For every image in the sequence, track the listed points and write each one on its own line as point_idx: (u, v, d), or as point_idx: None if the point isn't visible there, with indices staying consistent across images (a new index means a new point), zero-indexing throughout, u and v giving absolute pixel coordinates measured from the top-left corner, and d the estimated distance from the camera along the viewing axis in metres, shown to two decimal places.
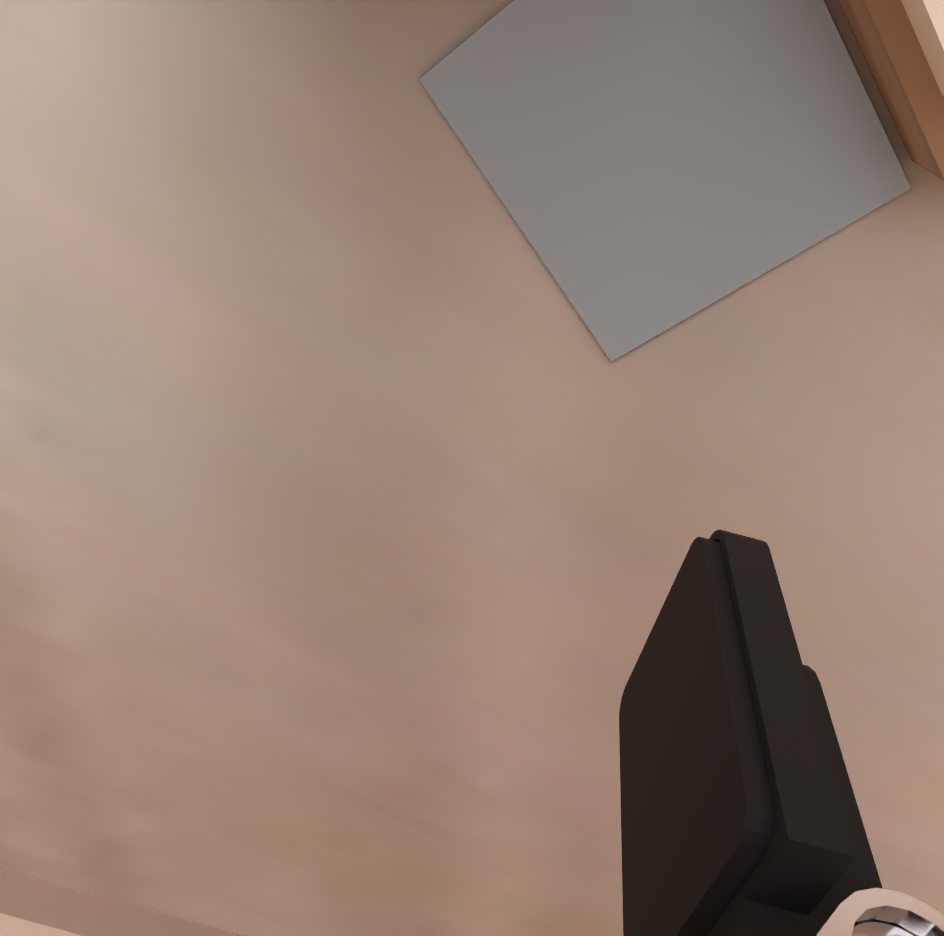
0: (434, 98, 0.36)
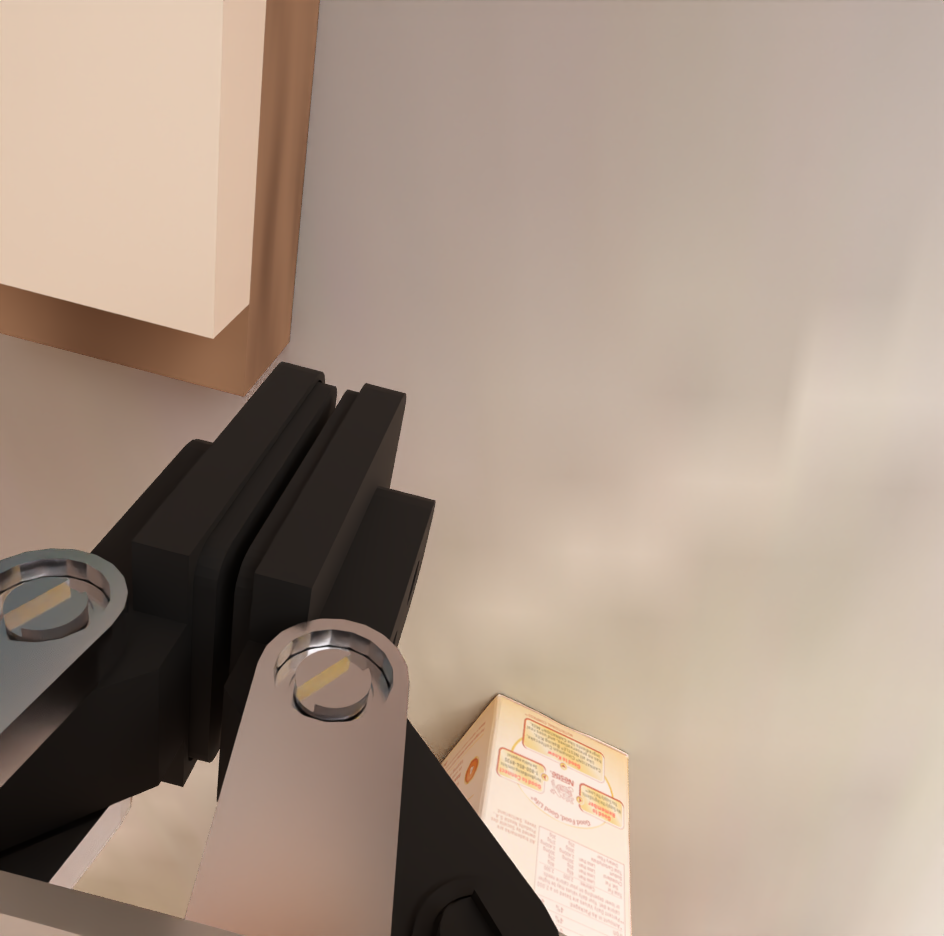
0: None
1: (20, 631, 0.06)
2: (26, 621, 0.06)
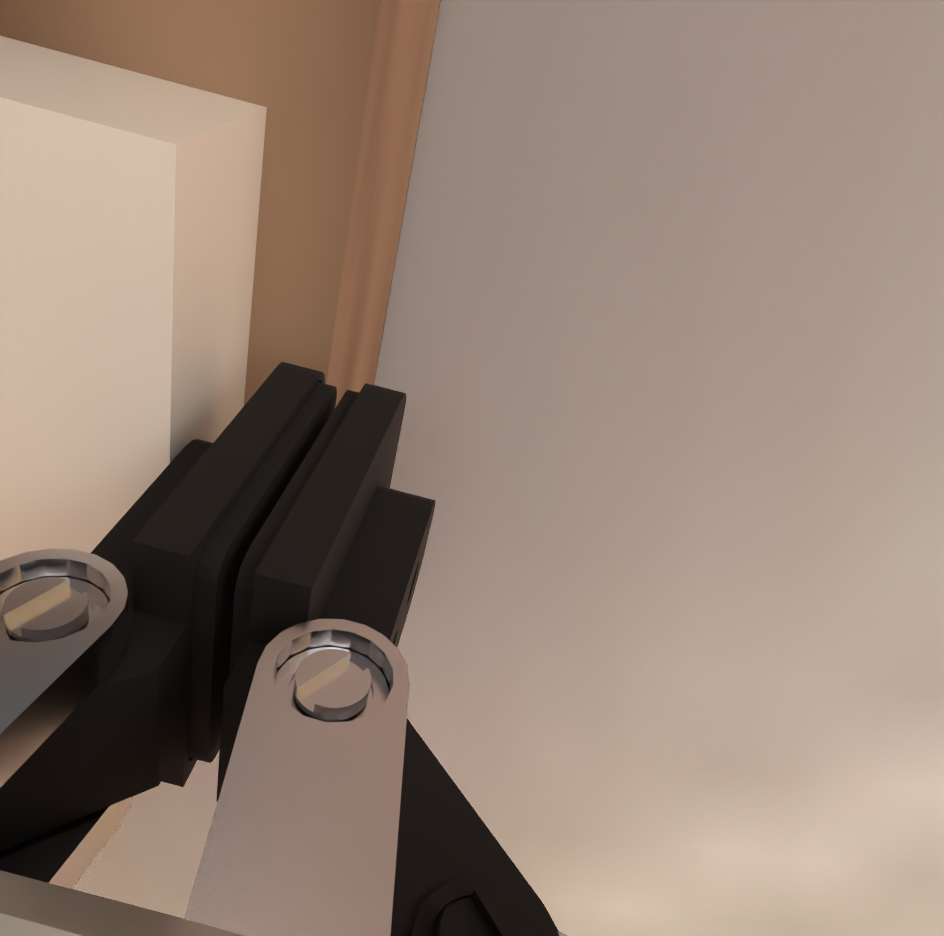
0: None
1: (20, 631, 0.06)
2: (26, 621, 0.06)
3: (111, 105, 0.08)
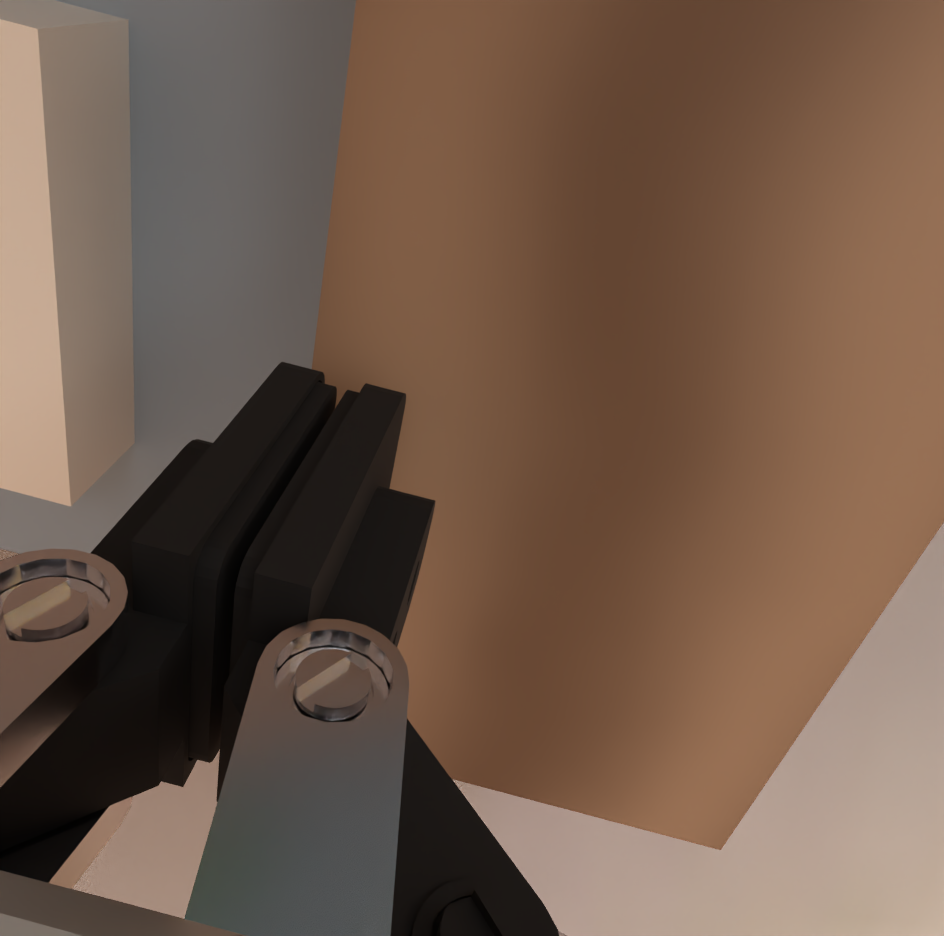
0: None
1: (20, 631, 0.06)
2: (26, 621, 0.06)
3: None
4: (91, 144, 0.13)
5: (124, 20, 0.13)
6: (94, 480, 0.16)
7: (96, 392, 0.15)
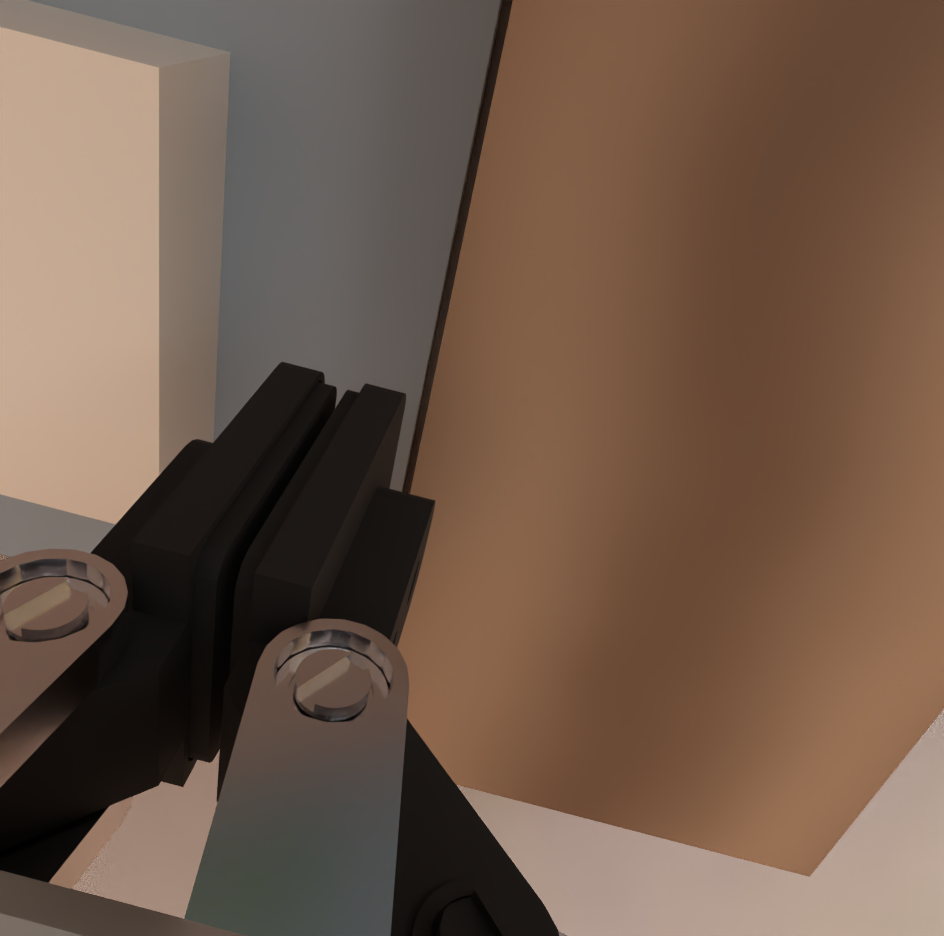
0: None
1: (20, 631, 0.06)
2: (26, 621, 0.06)
3: None
4: (194, 177, 0.13)
5: (226, 53, 0.13)
6: None
7: (185, 421, 0.15)
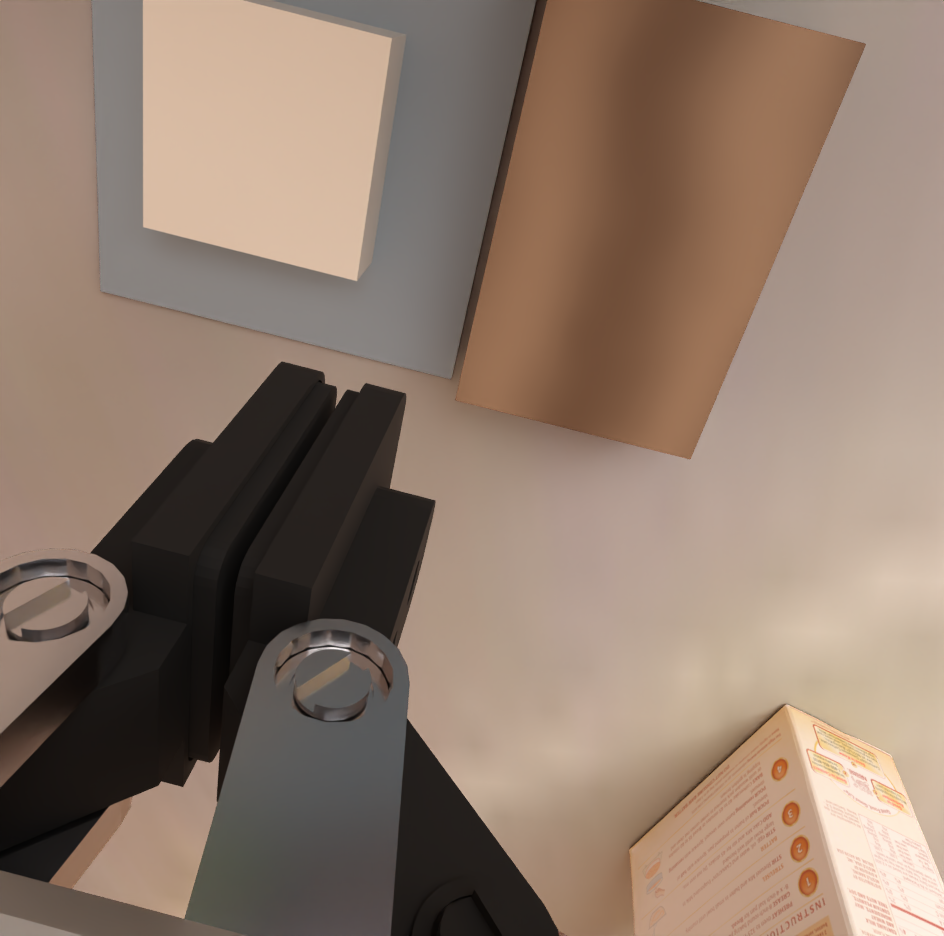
0: None
1: (20, 631, 0.06)
2: (26, 621, 0.06)
3: None
4: (391, 92, 0.27)
5: (405, 34, 0.27)
6: (362, 272, 0.30)
7: (370, 222, 0.29)
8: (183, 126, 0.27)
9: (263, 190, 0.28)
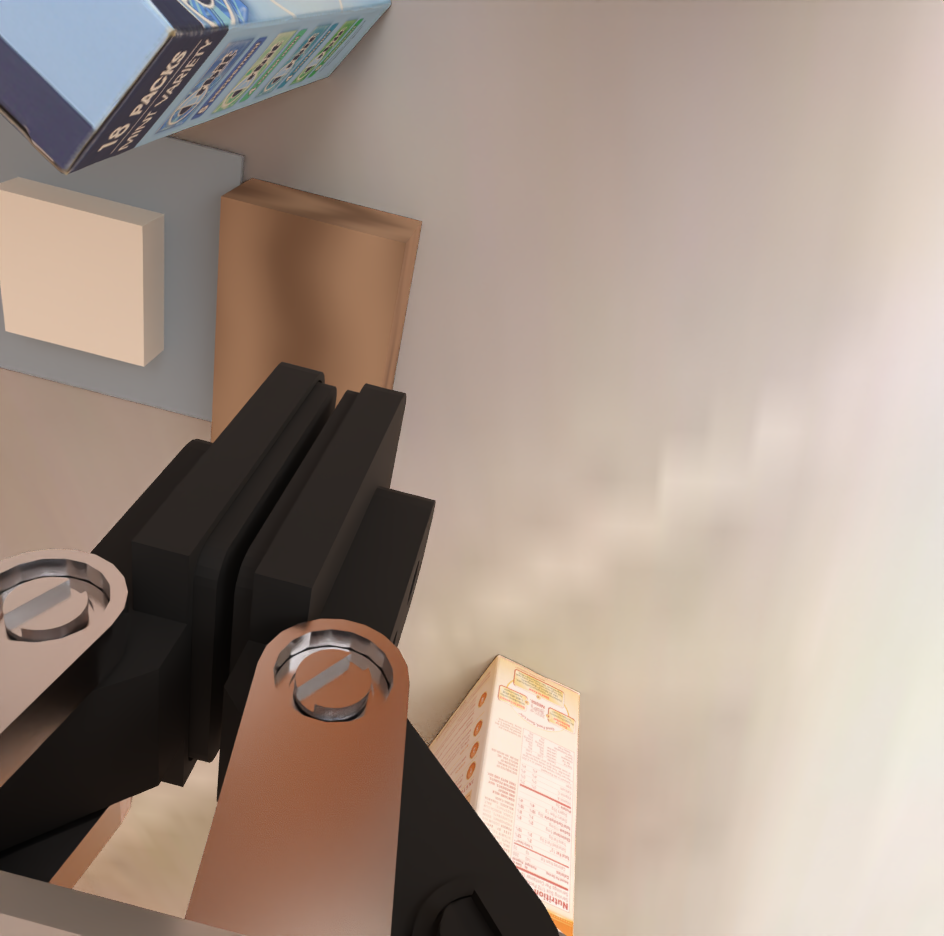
0: None
1: (20, 631, 0.06)
2: (26, 621, 0.06)
3: (28, 184, 0.42)
4: (153, 251, 0.42)
5: (163, 214, 0.43)
6: (151, 359, 0.46)
7: (152, 328, 0.45)
8: (23, 272, 0.43)
9: (78, 310, 0.44)
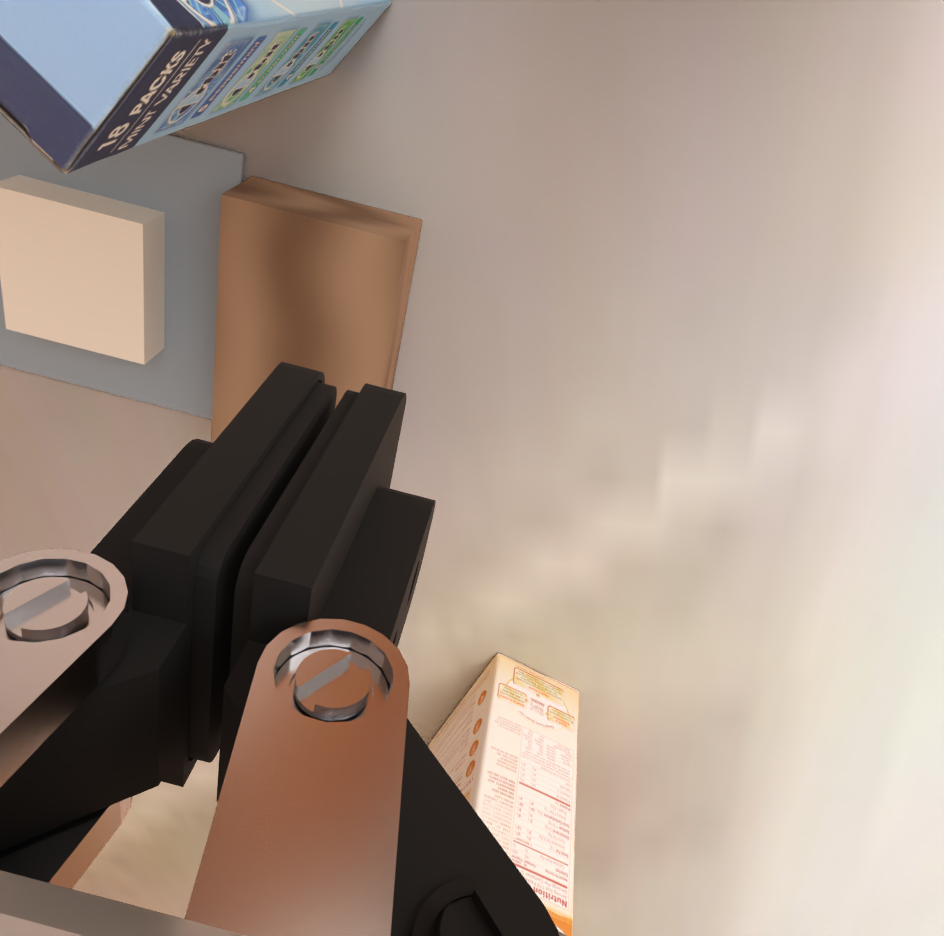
0: None
1: (20, 631, 0.06)
2: (26, 621, 0.06)
3: (29, 182, 0.42)
4: (154, 249, 0.43)
5: (163, 212, 0.43)
6: (151, 357, 0.46)
7: (152, 326, 0.45)
8: (24, 270, 0.43)
9: (78, 308, 0.44)
